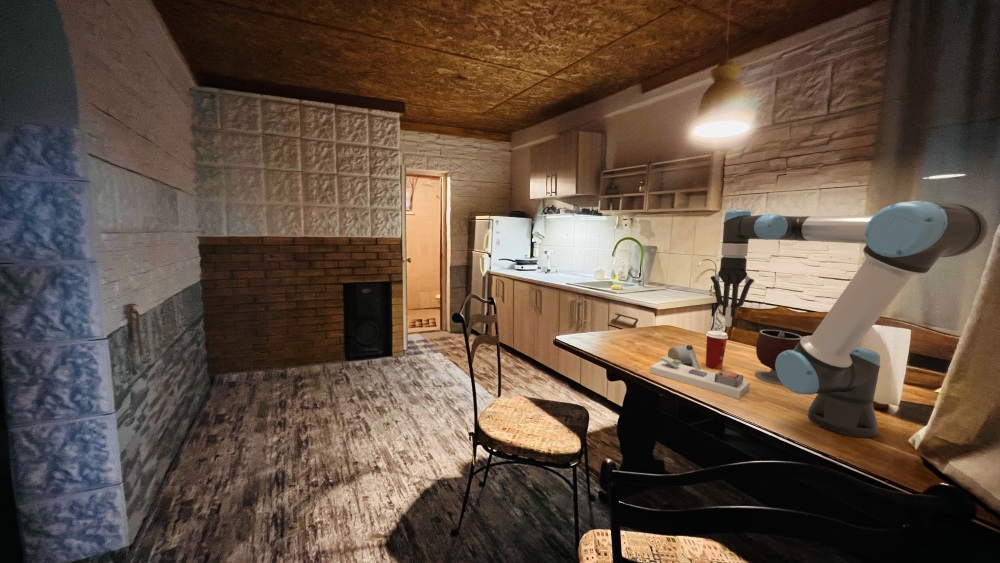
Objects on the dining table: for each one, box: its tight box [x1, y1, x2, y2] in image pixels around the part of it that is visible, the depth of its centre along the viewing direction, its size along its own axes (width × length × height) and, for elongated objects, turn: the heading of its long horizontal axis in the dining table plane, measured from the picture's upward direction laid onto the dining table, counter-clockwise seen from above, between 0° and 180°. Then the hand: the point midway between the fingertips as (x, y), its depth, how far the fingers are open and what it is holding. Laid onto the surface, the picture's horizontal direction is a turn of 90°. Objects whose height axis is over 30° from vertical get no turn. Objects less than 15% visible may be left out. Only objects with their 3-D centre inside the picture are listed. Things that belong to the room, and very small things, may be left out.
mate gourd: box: [754, 329, 803, 386], centre depth 146 cm, size 16×14×20 cm
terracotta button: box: [722, 370, 738, 379], centre depth 136 cm, size 4×4×2 cm
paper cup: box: [705, 330, 729, 370], centre depth 158 cm, size 8×8×14 cm
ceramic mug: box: [667, 344, 697, 368], centre depth 159 cm, size 11×8×8 cm
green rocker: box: [660, 355, 680, 367], centre depth 150 cm, size 6×4×2 cm, turn 45°
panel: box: [649, 360, 751, 400], centre depth 143 cm, size 30×12×5 cm, turn 45°
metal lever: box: [686, 344, 701, 370], centre depth 144 cm, size 2×2×9 cm
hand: (727, 325), depth 136 cm, fingers closed
